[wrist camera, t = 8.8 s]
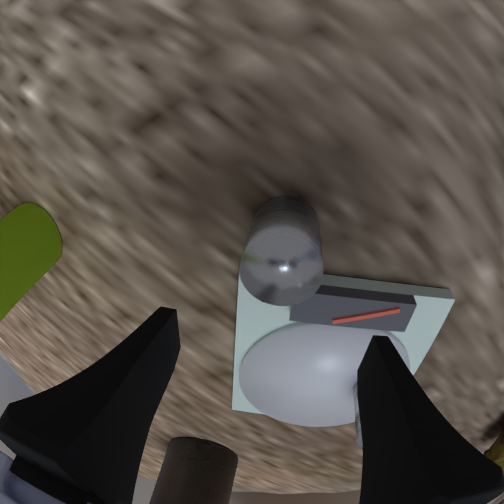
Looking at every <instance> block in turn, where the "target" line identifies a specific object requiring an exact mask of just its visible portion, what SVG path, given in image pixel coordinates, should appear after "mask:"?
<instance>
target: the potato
mask: <svg viewBox="0 0 504 504" xmlns="http://www.w3.org/2000/svg"><path fill="white" fill-rule="evenodd" d="M484 455H485V456H486V457H487V458H489V459H490V460H492V461H493V462H494V463H496V464H497V465H499V466H500V467H502V471H503V475H504V429H503V430H502V432H501V433H500V435H499V436H498V438H497V439H496V441H495V442H494V443H493V445H492V446H491V447H490V448H489V449H488V450H487V451H485V452H484Z"/></svg>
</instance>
